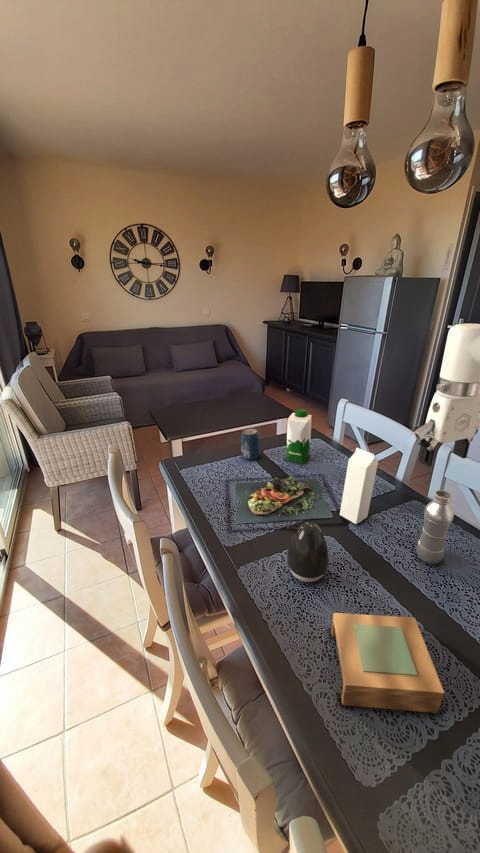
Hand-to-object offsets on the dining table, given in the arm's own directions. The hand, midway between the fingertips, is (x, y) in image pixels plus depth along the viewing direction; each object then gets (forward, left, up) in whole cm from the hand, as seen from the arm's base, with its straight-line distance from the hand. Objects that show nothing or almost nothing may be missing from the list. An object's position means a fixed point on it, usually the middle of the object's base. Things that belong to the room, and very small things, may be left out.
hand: (442, 459), depth 81 cm
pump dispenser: (+29, +5, -30) cm, 43 cm away
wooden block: (+17, +28, -30) cm, 45 cm away
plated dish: (+35, -25, -30) cm, 53 cm away
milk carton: (+28, -54, -30) cm, 68 cm away
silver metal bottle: (-3, -2, -30) cm, 31 cm away
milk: (+13, -18, -30) cm, 37 cm away
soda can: (+47, -54, -30) cm, 78 cm away
